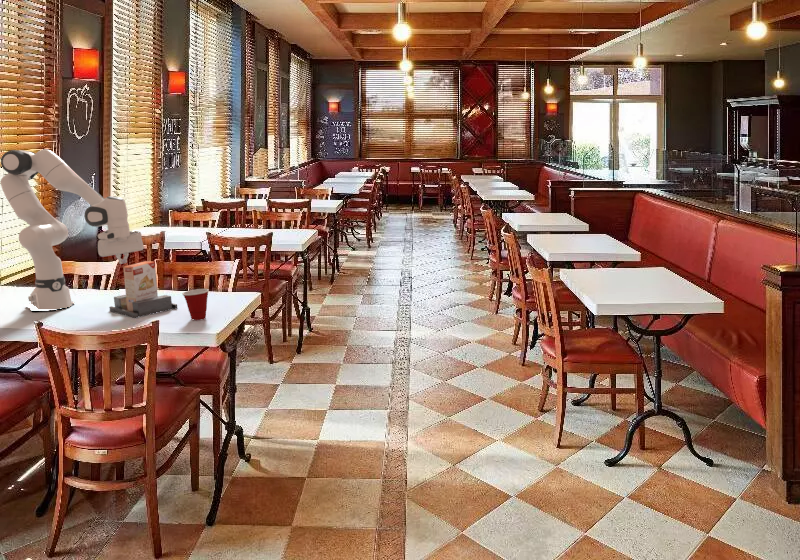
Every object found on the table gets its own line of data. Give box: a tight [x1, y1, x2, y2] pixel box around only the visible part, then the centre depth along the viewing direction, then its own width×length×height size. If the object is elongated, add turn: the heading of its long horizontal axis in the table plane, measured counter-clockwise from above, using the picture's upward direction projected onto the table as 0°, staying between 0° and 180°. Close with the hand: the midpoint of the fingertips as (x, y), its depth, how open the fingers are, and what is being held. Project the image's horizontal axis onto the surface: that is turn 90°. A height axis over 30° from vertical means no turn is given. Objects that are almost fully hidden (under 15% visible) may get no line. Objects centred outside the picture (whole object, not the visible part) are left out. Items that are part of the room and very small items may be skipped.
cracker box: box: [122, 260, 159, 312], centre depth 318 cm, size 14×6×21 cm, turn 158°
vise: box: [108, 294, 178, 319], centre depth 319 cm, size 22×20×6 cm
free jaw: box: [113, 294, 127, 310], centre depth 324 cm, size 5×16×6 cm, turn 140°
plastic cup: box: [182, 288, 210, 321], centre depth 301 cm, size 11×11×12 cm
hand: (123, 263), depth 325 cm, fingers closed
